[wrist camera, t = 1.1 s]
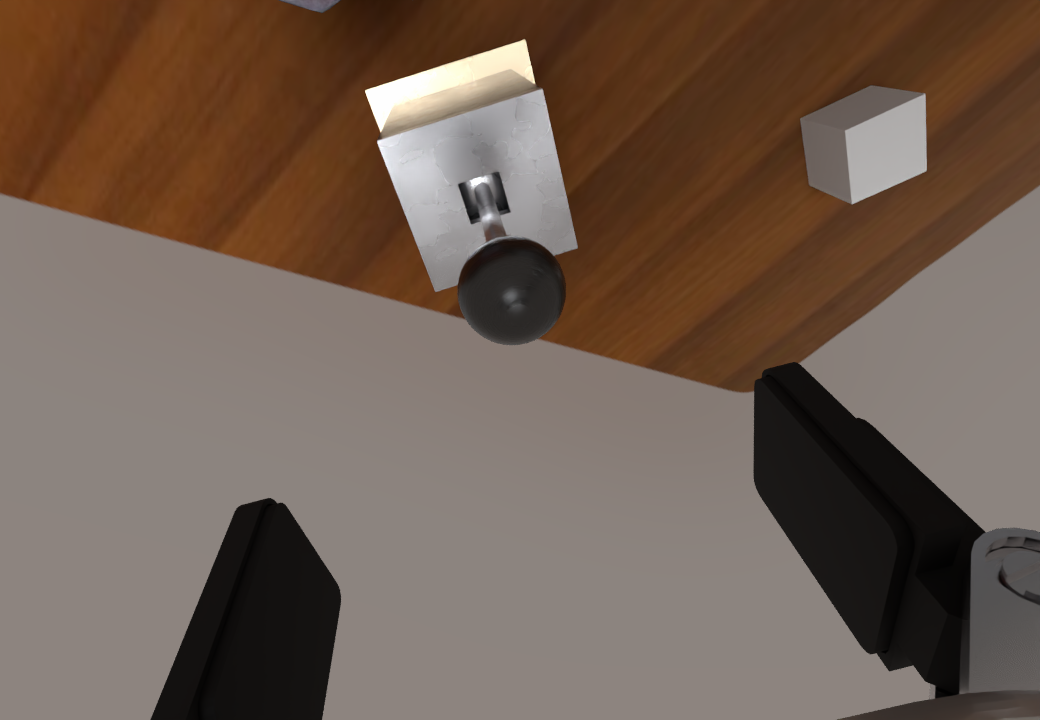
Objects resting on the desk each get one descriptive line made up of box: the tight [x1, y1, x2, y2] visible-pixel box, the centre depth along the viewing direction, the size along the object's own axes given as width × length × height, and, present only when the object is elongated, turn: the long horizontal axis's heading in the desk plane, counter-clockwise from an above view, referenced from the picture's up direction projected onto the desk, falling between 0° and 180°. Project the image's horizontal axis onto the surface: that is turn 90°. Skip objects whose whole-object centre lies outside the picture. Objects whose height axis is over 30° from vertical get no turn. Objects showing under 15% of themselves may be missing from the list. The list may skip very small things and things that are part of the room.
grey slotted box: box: [365, 39, 578, 292], centre depth 38 cm, size 12×13×14 cm
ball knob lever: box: [458, 171, 566, 345], centre depth 26 cm, size 6×6×17 cm
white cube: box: [800, 85, 927, 204], centre depth 45 cm, size 6×6×6 cm
